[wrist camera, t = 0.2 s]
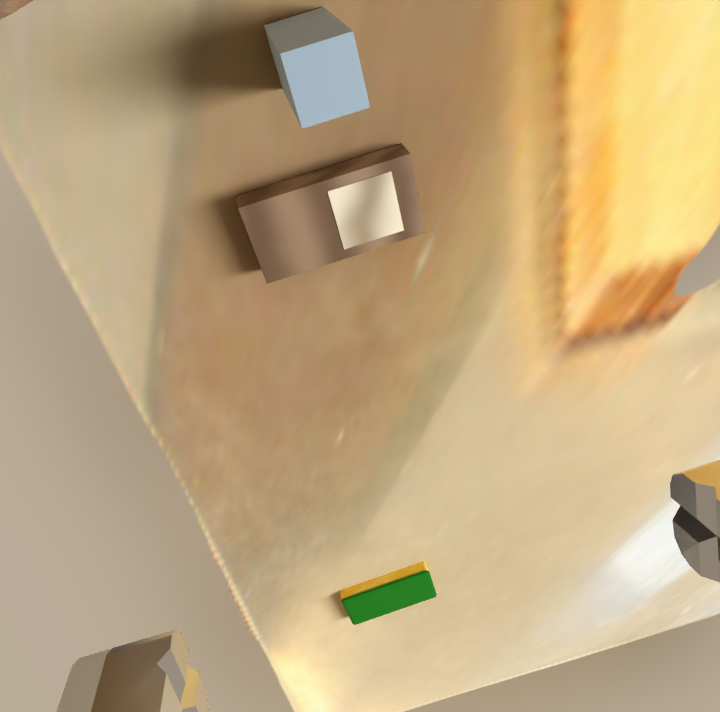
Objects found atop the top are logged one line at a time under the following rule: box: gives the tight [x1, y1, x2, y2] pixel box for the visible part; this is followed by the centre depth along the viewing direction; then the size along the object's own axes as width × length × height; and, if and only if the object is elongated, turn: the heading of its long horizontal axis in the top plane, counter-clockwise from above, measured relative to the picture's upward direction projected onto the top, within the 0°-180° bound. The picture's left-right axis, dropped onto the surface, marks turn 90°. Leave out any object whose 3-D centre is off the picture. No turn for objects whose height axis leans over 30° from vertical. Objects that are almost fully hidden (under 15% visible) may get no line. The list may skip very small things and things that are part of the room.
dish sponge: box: [340, 562, 437, 625], centre depth 98 cm, size 7×14×2 cm, turn 105°
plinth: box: [236, 143, 425, 284], centre depth 60 cm, size 16×8×3 cm, turn 104°
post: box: [264, 7, 370, 129], centre depth 48 cm, size 5×5×12 cm
